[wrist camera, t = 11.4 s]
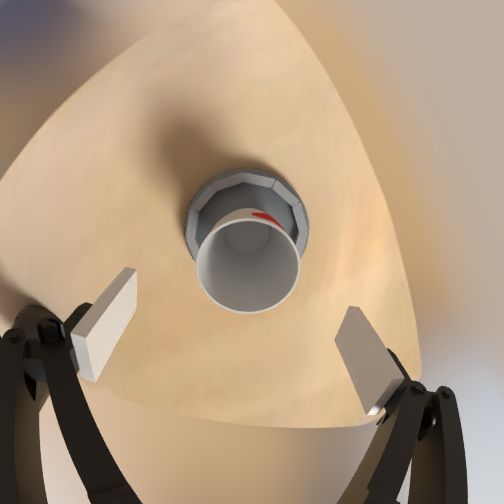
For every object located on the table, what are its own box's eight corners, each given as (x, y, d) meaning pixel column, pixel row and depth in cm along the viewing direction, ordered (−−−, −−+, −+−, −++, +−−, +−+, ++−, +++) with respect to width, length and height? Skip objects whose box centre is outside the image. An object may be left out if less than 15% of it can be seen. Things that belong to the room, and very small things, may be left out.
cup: (296, 243, 31) (317, 284, 22) (236, 278, 33) (232, 328, 23) (260, 182, 29) (267, 197, 19) (197, 221, 30) (175, 253, 21)
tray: (180, 272, 33) (176, 280, 31) (197, 158, 29) (193, 158, 27) (289, 292, 35) (292, 300, 33) (319, 183, 30) (325, 186, 28)
